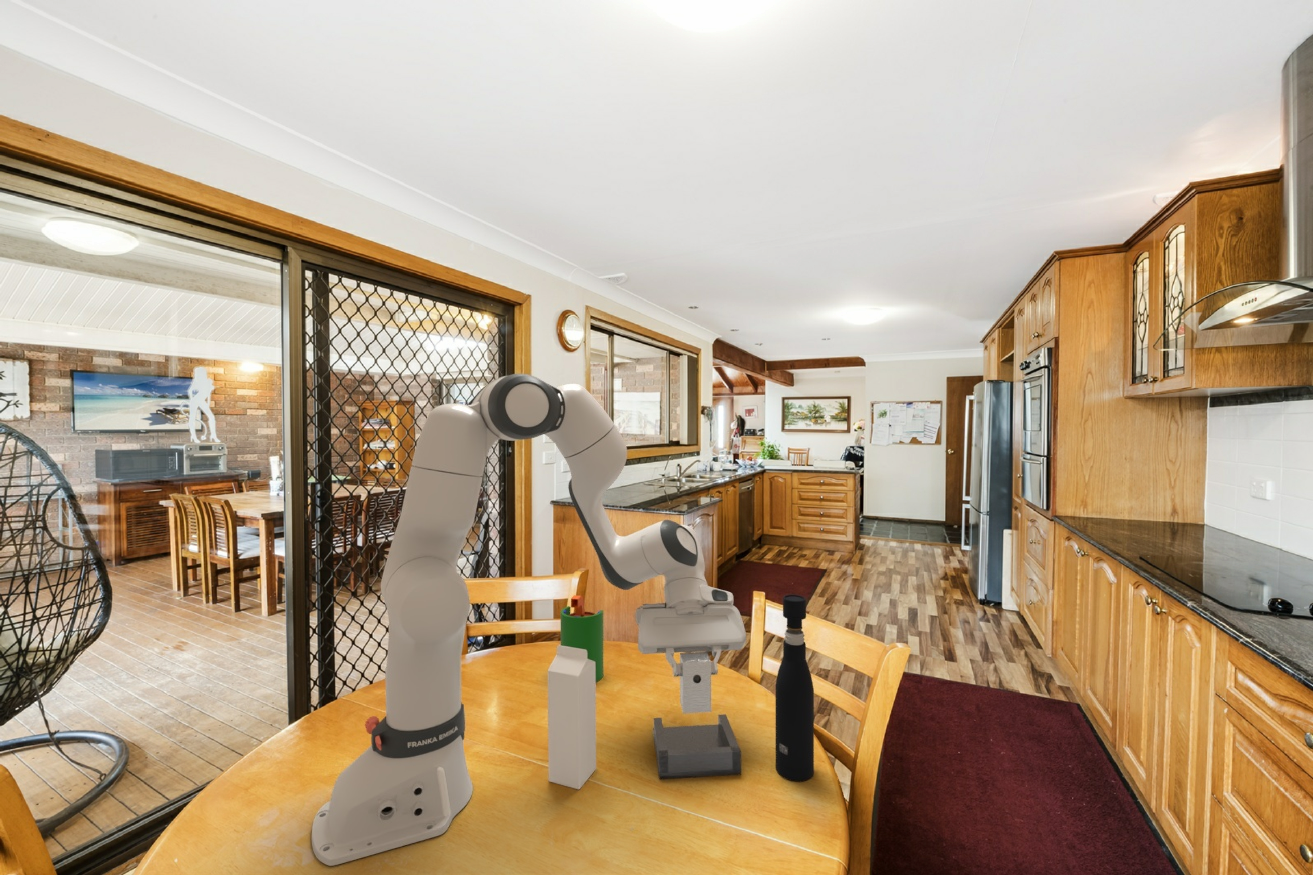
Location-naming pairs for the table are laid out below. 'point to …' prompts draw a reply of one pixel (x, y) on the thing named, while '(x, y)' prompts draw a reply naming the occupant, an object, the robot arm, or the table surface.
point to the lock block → (695, 682)
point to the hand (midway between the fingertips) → (695, 674)
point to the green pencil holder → (583, 632)
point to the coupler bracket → (696, 750)
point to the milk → (571, 717)
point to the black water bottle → (794, 699)
